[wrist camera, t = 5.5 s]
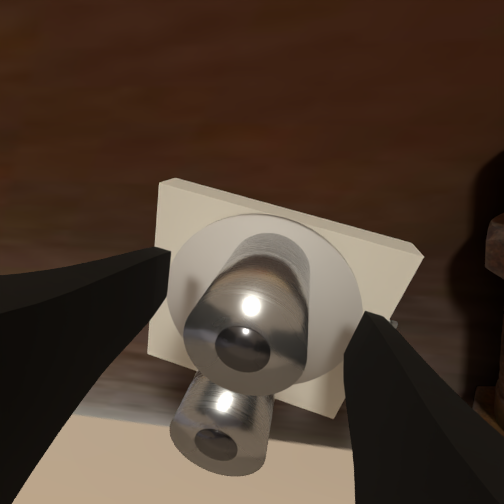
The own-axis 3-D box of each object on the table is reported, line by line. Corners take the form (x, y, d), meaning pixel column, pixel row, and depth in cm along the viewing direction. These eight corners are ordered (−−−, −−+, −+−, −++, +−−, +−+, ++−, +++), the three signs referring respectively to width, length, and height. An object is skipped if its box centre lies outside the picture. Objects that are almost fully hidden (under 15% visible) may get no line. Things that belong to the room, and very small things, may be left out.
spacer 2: (210, 359, 15) (164, 456, 11) (220, 309, 14) (173, 396, 9) (272, 381, 15) (252, 490, 10) (290, 331, 13) (276, 434, 9)
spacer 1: (224, 291, 13) (176, 373, 9) (239, 222, 12) (190, 278, 7) (296, 314, 13) (286, 412, 8) (321, 246, 11) (326, 320, 7)
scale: (160, 336, 19) (139, 363, 17) (175, 175, 14) (149, 183, 12) (339, 398, 17) (343, 435, 15) (423, 244, 13) (445, 266, 11)
